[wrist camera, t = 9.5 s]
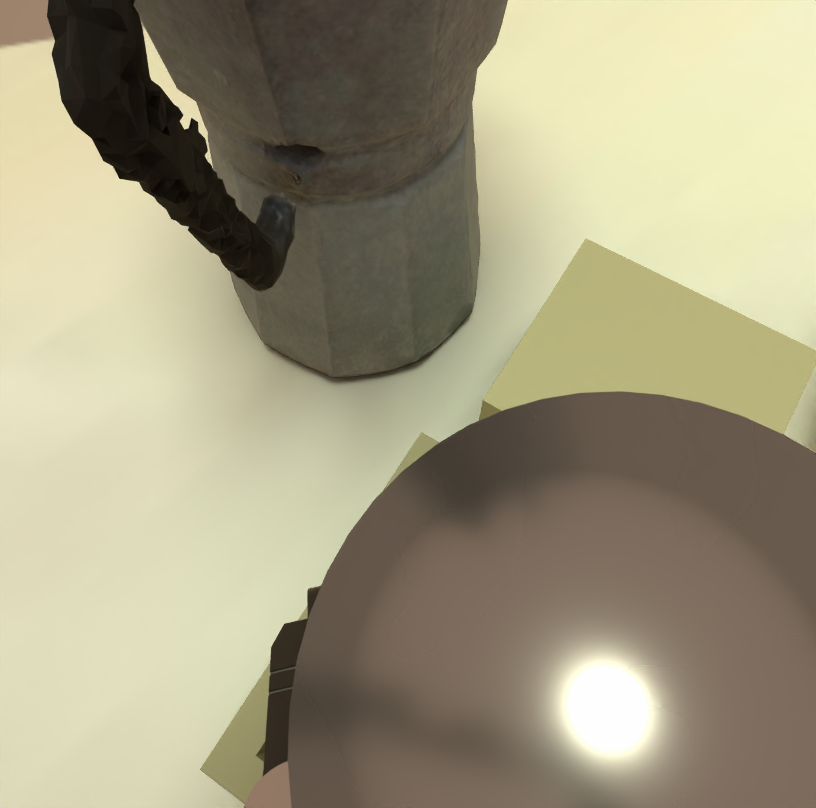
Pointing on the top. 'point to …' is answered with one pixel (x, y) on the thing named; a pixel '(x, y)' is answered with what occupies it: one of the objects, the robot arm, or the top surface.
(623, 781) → the flanged base cylinder
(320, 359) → the moka pot
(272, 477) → the top surface
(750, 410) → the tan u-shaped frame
